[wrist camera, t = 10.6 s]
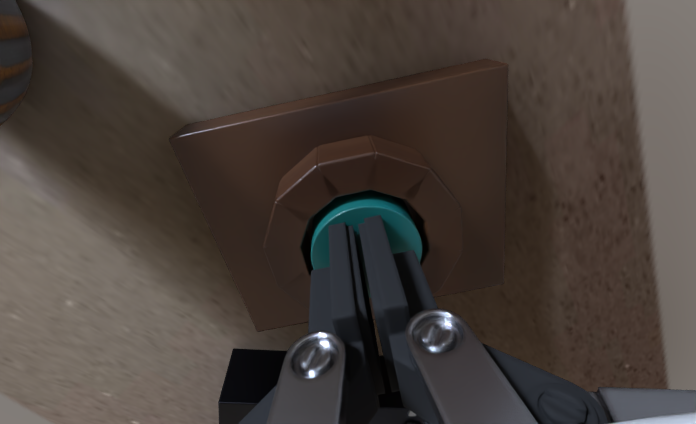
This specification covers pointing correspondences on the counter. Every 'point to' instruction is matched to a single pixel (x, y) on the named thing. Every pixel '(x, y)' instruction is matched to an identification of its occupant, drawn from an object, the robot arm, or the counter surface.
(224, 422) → the black rectangular base
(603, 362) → the counter surface
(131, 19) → the counter surface
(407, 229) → the button
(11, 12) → the vase
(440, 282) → the brown square base
